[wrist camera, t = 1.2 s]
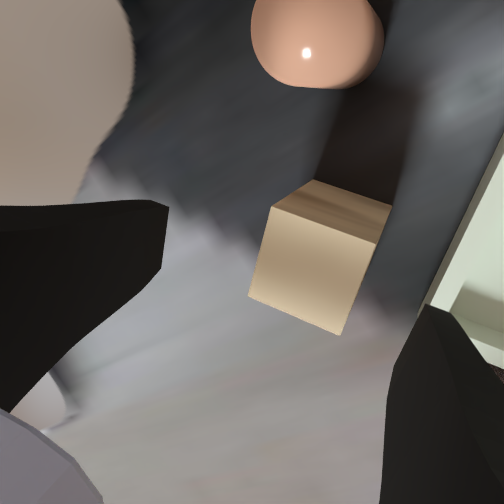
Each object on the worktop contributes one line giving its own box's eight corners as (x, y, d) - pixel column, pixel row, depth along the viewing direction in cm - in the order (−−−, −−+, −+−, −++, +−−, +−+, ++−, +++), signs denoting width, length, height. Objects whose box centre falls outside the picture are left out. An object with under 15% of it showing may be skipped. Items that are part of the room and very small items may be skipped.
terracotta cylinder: (367, 98, 19) (340, 99, 14) (292, 78, 20) (240, 71, 14) (397, 7, 17) (379, -32, 12) (314, -10, 18) (265, -52, 13)
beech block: (363, 278, 22) (339, 336, 16) (291, 250, 23) (247, 296, 17) (392, 205, 20) (376, 244, 15) (313, 179, 21) (271, 206, 16)
